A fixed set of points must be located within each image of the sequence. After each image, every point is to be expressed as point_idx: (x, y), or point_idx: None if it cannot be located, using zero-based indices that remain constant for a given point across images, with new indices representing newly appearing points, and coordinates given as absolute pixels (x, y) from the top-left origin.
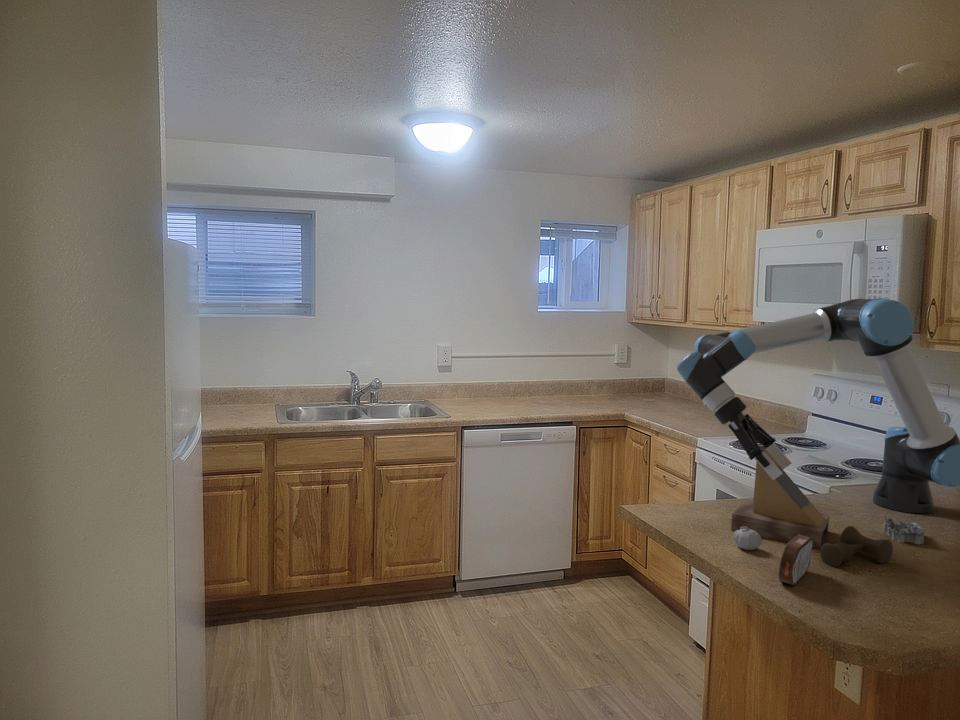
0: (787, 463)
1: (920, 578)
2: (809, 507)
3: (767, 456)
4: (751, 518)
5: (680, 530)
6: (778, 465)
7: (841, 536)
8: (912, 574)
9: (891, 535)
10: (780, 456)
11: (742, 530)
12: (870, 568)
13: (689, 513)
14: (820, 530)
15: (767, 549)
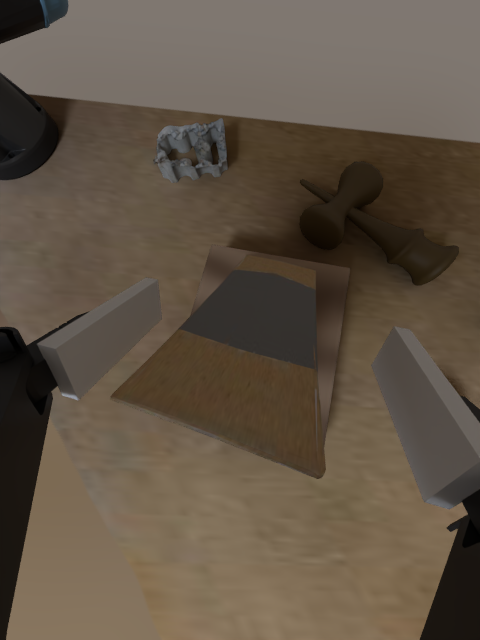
0: (153, 294)
1: (396, 163)
2: (284, 274)
3: (473, 419)
4: (328, 414)
5: (383, 589)
6: (197, 334)
7: (342, 237)
8: (384, 170)
9: (200, 174)
10: (128, 317)
11: None
12: (395, 219)
13: (220, 558)
14: (344, 269)
15: None
